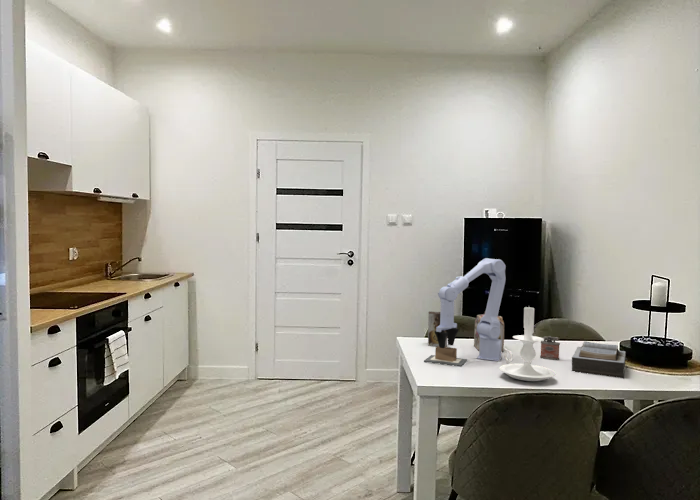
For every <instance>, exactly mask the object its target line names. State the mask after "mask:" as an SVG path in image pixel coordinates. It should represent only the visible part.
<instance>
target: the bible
mask: <svg viewBox="0 0 700 500" xmlns="http://www.w3.org/2000/svg"><path fill="white" fill-rule="evenodd" d="M626 354H627V352H626V351H625V350H619V346H618V344H608V343H607V344H606V343H597V342H596V343H595V342H591V341H586V340H584V341H583V343H582V345H581V346H577V347H576V349H575V351H574V353H573V355H572V357H571V372H572V371H575V372H574V373H579V372H581V373H582V374H587V373H588V375H595V376H602V377H603V376H605V377H609V378H610V377H611V378H618V379H624V378H625V370H626V369H625V367H626V366H625V365H626V361H628V360H629V359H628V358H627V357H626V356H627V355H626ZM581 373H580V374H581Z"/></svg>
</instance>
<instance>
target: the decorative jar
mask: <svg viewBox="0 0 700 500" xmlns="http://www.w3.org/2000/svg"><path fill="white" fill-rule="evenodd" d="M485 312H486V310H485V311H484V313H483V314H477V315H476V317H475V319H474V336H473V341H474V342H473V344H474V345H473V346H474V347H475V348H476V349H477V350H478V351H479V346H480V337H479V334H478V332H477V325H478V324H479V322H480V319H481V318H482V317H483V316H484V315H485ZM497 318H498V320H499V322H500V335H499V337H498V338H497V339H500V340H501V341H502V351H501V353H502V352H504V351H505V350H504V348H505V346H504V344H505V321H504V320H503V316H501V315H498V317H497Z"/></svg>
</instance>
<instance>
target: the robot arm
mask: <svg viewBox="0 0 700 500" xmlns="http://www.w3.org/2000/svg"><path fill="white" fill-rule="evenodd" d="M506 267H507V266H506V264H505V262H504V261H503V260H502V259H500V258H498V259H497V258H496V259H495V258H488V257H485V258H483V259H482V260H480V261H479V262H478V263H477V265H475V266H474V267H473V268H472V269H470V271H468V272H466V274H464V276H462V275H460V276H456V277H455V278H454V279H453V281H451V282H448V283H447V285H446V286H445V285H444V286H442V287H441V288H440V289H439V292H437V295H438V298H439V299H440V300H439V303H440V311H439V312H440V325H439V326H438V327H436V331H435V335H436V337H437V339H438V343H439V347H440V348H445V347H446V346H445V342H446V337H447V346H454V342H455V341H456V340H455V339H456V337H457V334H458V332H459V330H460V328H458V323H456V322H455V300H456V299H457V298H458V295H459V294H460V293H462V292H463V291H465V290H466V289H467V288H468V287H469V283H470V282H472V281H474V280H475V279H476V278H478V277H479V276H481V275H483V274H486V275H488V276H489V278H490V280H491V286H490V290H489V294H488V299H487V303H486V308H485V311H486V312H485V311H484V314H485V315H484V316H483V317H482V318H481V319H480V322H479V324H478V325H477V332H478V334H479V337H480V346H479V350H478V351H479V353H478V356H477V357H476V359H478V360H486V361H496V362H499V361H501V359H502V355H503V353H502V352H501V351H502V341H501V340H500V339H497V338H498V337H499V335H500V322H499V320H498V318H497V317H498V316H499V312H500V311H499V310H500V306H501V303H502V298H503V294H504V290H505V285H506V280H507V279H506ZM444 330H446V332H445V331H444Z"/></svg>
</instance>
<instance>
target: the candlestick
mask: <svg viewBox="0 0 700 500" xmlns="http://www.w3.org/2000/svg"><path fill="white" fill-rule="evenodd" d="M534 325H535V308H534V307H530V306H528V307H527V306H525V307H524V308H523V328H524V330H523V331H524V334H521V335H519V334H517V335H513V336H512V338H513V339H515V340H518V341H520V342H522V343H523V345H522V347H521V348H520V351H519V355H520V358H521V359H522V360H523V361H524V363H510V362H512V361H513V358H514V357H513V352H512V350H510V349H508V348H505V347H504V350H503V351H504V354H503V355H504V360H505V361H506V364H503V365H500V366H499V370H500V371H501V372H502V373H504V374H506V376H509V377H511V378H513V379H516V380H519V381H526V382H541V381H545V380H548V379H550V378H552V377H554V376H556V375H557V373H556V371H555V370H553V369H551V368H549V367H545V366H542V365H536V364H531V363H532V361H533V360H534V359H535V358H536V354H537V353H536V350H535V347H534V343H537V342H541V341H544V337H540V336H536V335H533V334H534V333H535V332H534V331H535V330H534V328H535V327H534ZM507 354H509V359H508V356H507Z"/></svg>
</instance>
